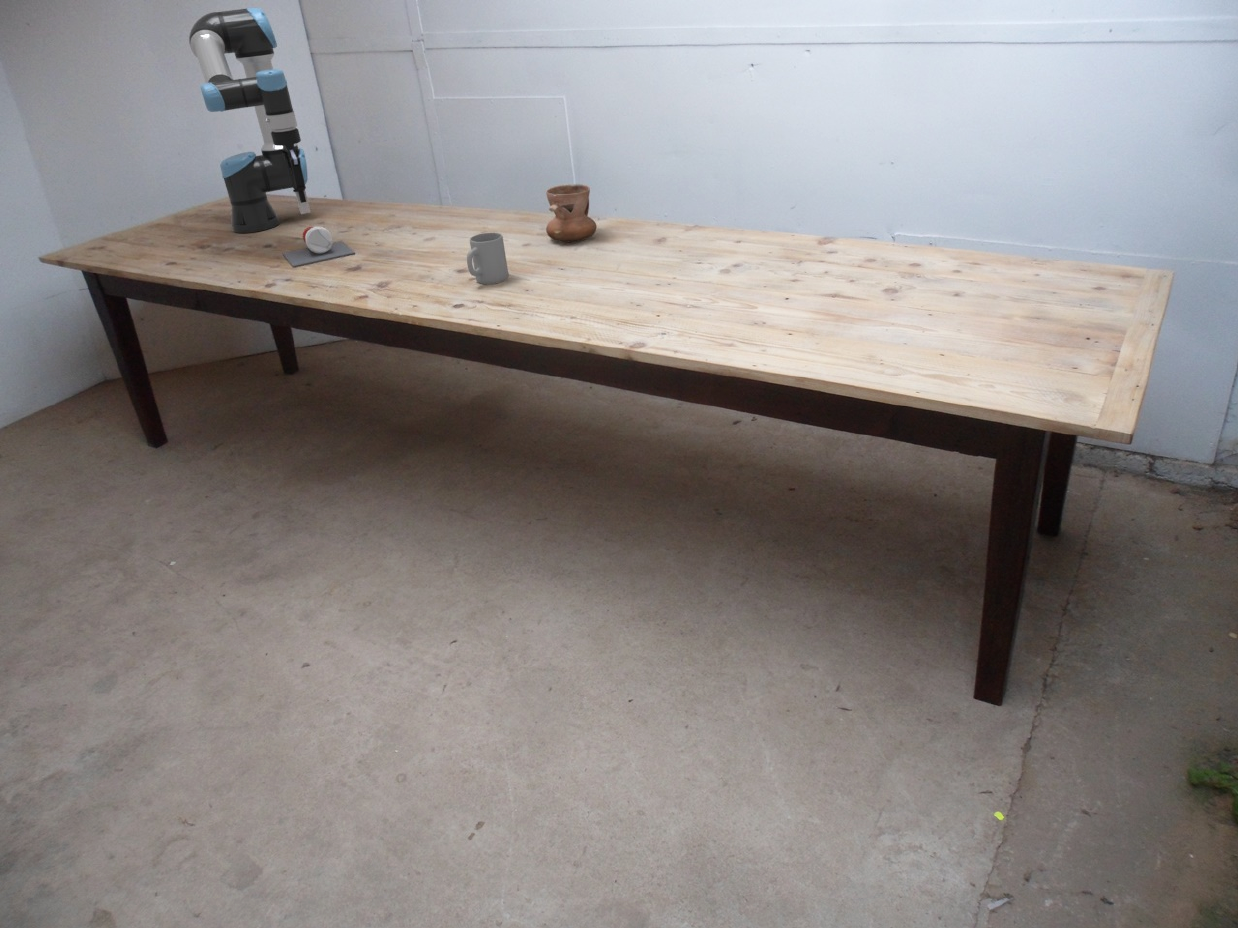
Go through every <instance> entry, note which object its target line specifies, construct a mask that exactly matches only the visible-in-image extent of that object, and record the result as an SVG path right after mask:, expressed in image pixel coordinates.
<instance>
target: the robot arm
mask: <svg viewBox="0 0 1238 928" xmlns="http://www.w3.org/2000/svg"><path fill="white" fill-rule="evenodd" d="M188 40H189V41H188V42H189V47H190V49H191V52H192V53H193V55H194V56H195V57H196V58H197V60H198V64H199V66H200V69H201V72H202V75H203V79H204V81H205V83H202V84H201V85H200V91H201V94H202V97H203V98H202V99H203V101H204V104H205V108H206V110H207V111H208V112H210V113H216V112H226V111H233V110H239V109H245V108H252V107H254V111H255V114H256V117H257V121H258V125H259V129H260V132H261V136H262V139H263V144H262V147H261V149H260V150H261V155H256V153H255V152H254V151H247V152H241V153H238V154H234V155H232V156H229V157H227V158H225V159H223V160H222V161H221V163H220V171H221V175H222V176H221V177H222V179H223V181H224V185H225V188H226V192H227V195H228V198H229V202H230V205H231V228H232V231H233V232H234V233H237V234H238V233H239V234H249V233H256V232H263V231H267V230H269V229H272V228H276V227H277V226H279V225H280V218H279V216H278V214H277V213H276V211H275V209H274V208H273V206H272V204H271V203H270V202H269V199H268V197H267V196H268V195H267V193H269V192H275V191H283V190H288V189H292V190H293V193H295V198H296V201H297V205H298V210H299V213H300V214H301V215H304V214H309V213H311V207H310V204H309V201H308V196H307V192H306V188H307V187H306V185H307V183H308V179H309V178H308V166H307V159H306V156H305V155H306V154H305V151H304V149H303V148H299V145H298V144H299V143H300V142H301V141H302V139H301V135H300V131H299V129H298V122H297V119H296V115H295V111H294V108H293V104H292V101H291V97H290V92H289V87H288V82H287V79H286V76H285V73H284V71H283V70H282V69H280V68H273V64H272V59H273V57H274V55H275V51H274V49H276V48H277V47H278V43H277V40H276V37H275V34H274V31H273V29H272V26H271V24H270V21H269V19H268V17H267V15H266V13H265V12H264V10H263V9H261V8H259V7H254V8H253V7H250V8H249V7H246V8H241V9H239V8H238V9H231V10H225V11H224V10H223V11H218V12H217V11H212V12H209V13H207V14H205V15H203V16H201V17H200V18H199V19H197V21H196V22H195V23H194V25H193V26H192V28H191V30H190V32H189V37H188ZM233 53H234V56H235V59H236V60H237V61H238V62H239V63H241V64H242V67H243V70H244V73H245V76H246V78H237V79H234V78H233V75H232V72H231V70H230V66H229V63H228V61H227V59H226V55H225V54H233ZM296 127H297V128H296Z"/></svg>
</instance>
